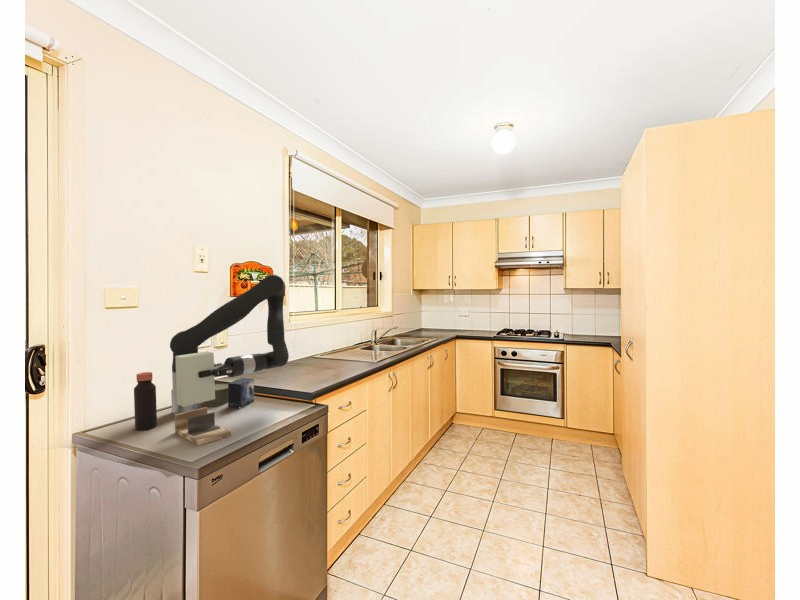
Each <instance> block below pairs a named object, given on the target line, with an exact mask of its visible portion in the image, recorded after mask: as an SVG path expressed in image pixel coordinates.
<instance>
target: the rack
mask: <svg viewBox="0 0 800 600" xmlns="http://www.w3.org/2000/svg"><path fill="white" fill-rule="evenodd" d="M215 415H216V414H215V411H212V412H209V413H208V406H204V407H200V408H199V409H196V410H192V411H188V412H184V413H180V414H176V415H175V414H174V433H175V434H177V435H178V434H179V435H178V436H180V437H182V438H184V439H185V440H187V439H188V441H189V440H190V442H191V443H193V444H195V445H196V444H197V446H202V444H203V445H206V444H208V442H209V443H211V441H212V442H215V441H217V440H221V439H224V438H223V437H225V438H227V437H226V436H228V437H230V436H229V435H231V436H232V431H231V430H229V429H227V428H225V427H223V426H220V425H218V424H216V421H215V420H216V419H215V417H216V416H215ZM214 440H215V441H214ZM205 443H206V444H205Z"/></svg>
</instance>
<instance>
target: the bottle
mask: <svg viewBox="0 0 800 600" xmlns="http://www.w3.org/2000/svg"><path fill="white" fill-rule="evenodd" d="M152 381H153V372H149V371H148V372H147V371H146V372H144V371H143V372H140V373H136V383H137V384H136V386H134V388H133V400H134V401H133V404H134V405H133V407H134V409H133V410H134V428H135V431H147V429H148V430H151V428H152V429H154V428H156V427H157V425H158V419H157V417H158V416H157V414H158V413H157V411H158V410H157V409H158V408H157V386H156V385H155V383H153V382H152Z"/></svg>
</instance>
